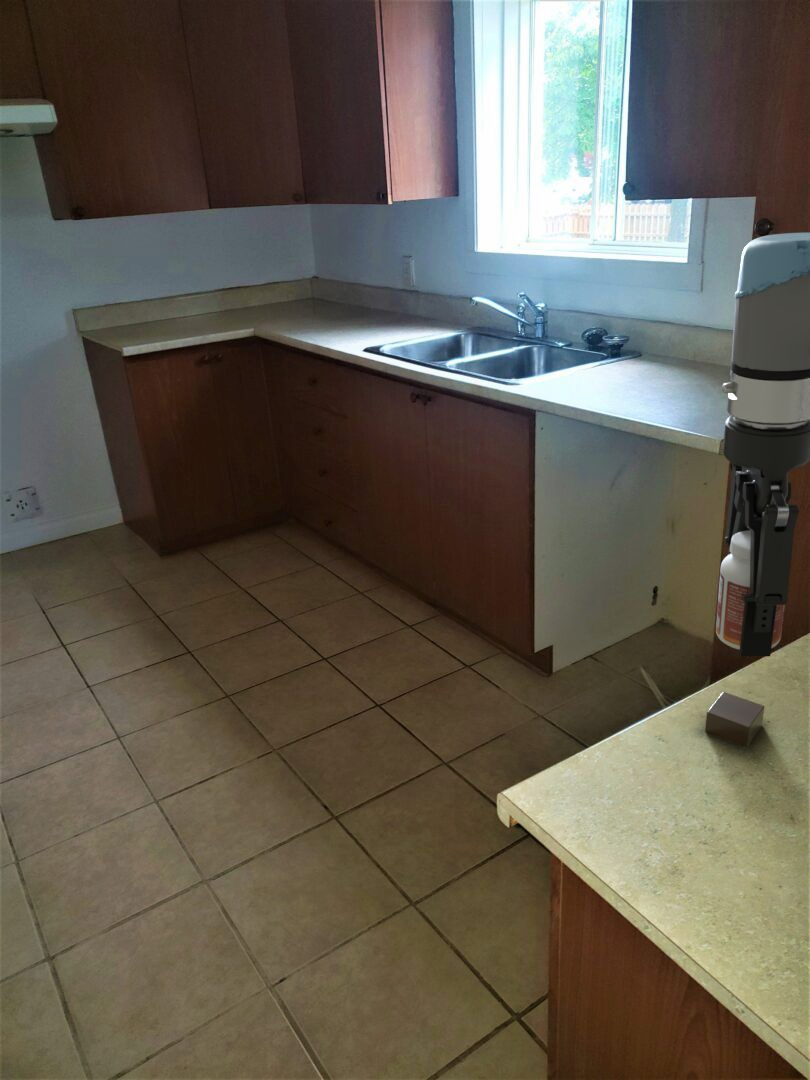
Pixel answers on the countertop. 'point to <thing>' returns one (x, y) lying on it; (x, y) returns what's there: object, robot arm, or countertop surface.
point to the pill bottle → (738, 593)
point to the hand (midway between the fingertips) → (746, 634)
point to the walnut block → (734, 719)
